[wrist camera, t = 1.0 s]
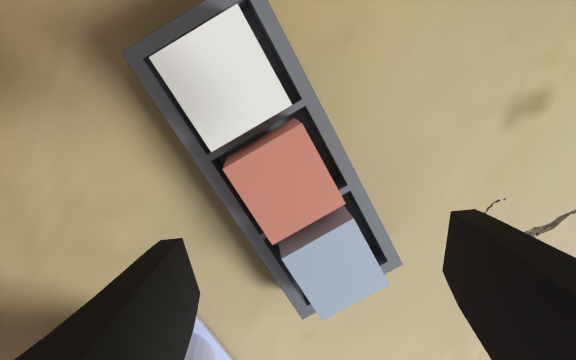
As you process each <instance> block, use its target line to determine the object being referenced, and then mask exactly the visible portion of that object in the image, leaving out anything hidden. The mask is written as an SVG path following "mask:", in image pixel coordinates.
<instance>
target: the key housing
mask: <svg viewBox="0 0 576 360" xmlns="http://www.w3.org/2000/svg"><path fill="white" fill-rule="evenodd" d="M236 4H238V6H239V8H240V9H241V11H242V13H243V15H244V17H245V19H246V20H247V22H248V24H249V26H250V28H251V30H252V32H253V33H254V35H255V37H256V39H257V41H258V43H259V44H260V46H261V48H262V50H263V52H264V54H265V56H266V57H267V59H268V61H269V63H270V65H271V67H272V68H273V70H274V72H275V74H276V76H277V78H278V80H279V81H280V83H281V85H282V87H283V89H284V91H285V92H286V94H287V96H288V98H289V100H290V102H291V104H292V105H291V106H290V107H288V108H286V109H284V110H283V111H281V112H279V113H278V114H276V115H274V116H272V117H271V118H269V119H267V120H266V121H264V122H262V123H261V124H259V125H257V126H255V127H254V128H252V129H250V130H249V131H247V132H245V133H243V134H242V135H240V136H238V137H237V138H235V139H233V140H231V141H230V142H228V143H226V144H225V145H223V146H221V147H220V148H218V149H216V150H214V151H213V152H211V151H210V150H209V148H208V147H207V145H206V144H205V142H204V141H203V139H202V137H201V136H200V134H199V133H198V131H197V130H196V128H195V127H194V125H193V124H192V122H191V121H190V119H189V118H188V116H187V115H186V113H185V112H184V110H183V109H182V107H181V106H180V104H179V103H178V101H177V99H176V98H175V96H174V95H173V93H172V92H171V90H170V89H169V87H168V86H167V84H166V83H165V81H164V80H163V78H162V77H161V75H160V74H159V72H158V71H157V69H156V68H155V66H154V65H153V63H152V61H151V60H150V58H149V57H150V56H152V55H153V54H155V53H157V52H158V51H160V50H162V49H163V48H165V47H167V46H168V45H170V44H171V43H173V42H175V41H176V40H178V39H180V38H181V37H183V36H185V35H186V34H188V33H190V32H191V31H193V30H195V29H196V28H198V27H199V26H201V25H203V24H204V23H206V22H208V21H209V20H211V19H213V18H214V17H216V16H218V15H219V14H221V13H222V12H224V11H226V10H227V9H229V8H231V7H232V6H234V5H236ZM120 53H121V54H122V56H123V57H124V59H125V60H126V62H127V63H128V65H129V66H130V67H131V69H132V70H133V72H134V73H135V75H136V76H137V78H138V79H139V81H140V82H141V84H142V85H143V87H144V88H145V89H146V91H147V92H148V94H149V95H150V97H151V98H152V100H153V101H154V103H155V104H156V106H157V107H158V109H159V110H160V111H161V113H162V114H163V116H164V117H165V119H166V120H167V122H168V123H169V125H170V126H171V128H172V129H173V131H174V132H175V133H176V135H177V136H178V138H179V139H180V141H181V142H182V144H183V145H184V147H185V148H186V150H187V151H188V152H189V154H190V155H191V157H192V158H193V160H194V161H195V163H196V164H197V166H198V167H199V169H200V170H201V172H202V173H203V174H204V176H205V177H206V179H207V180H208V182H209V183H210V185H211V186H212V188H213V189H214V191H215V192H216V194H217V195H218V196H219V198H220V199H221V201H222V202H223V204H224V205H225V207H226V208H227V210H228V211H229V213H230V214H231V215H232V217H233V218H234V220H235V221H236V223H237V224H238V226H239V227H240V229H241V230H242V232H243V233H244V235H245V236H246V237H247V239H248V240H249V242H250V243H251V245H252V246H253V248H254V249H255V251H256V252H257V254H258V255H259V257H260V258H261V259H262V261H263V262H264V264H265V265H266V267H267V268H268V270H269V271H270V273H271V274H272V276H273V277H274V278H275V280H276V281H277V283H278V284H279V286H280V287H281V289H282V290H283V292H284V293H285V295H286V296H287V298H288V299H289V300H290V302H291V303H292V305H293V306H294V308H295V309H296V311H297V312H298V314H299V315H300V317H301V318H302V320H303V319H305V318H306V317H308V316H310V315H312V314H314V313H315V312H316V311H315V309H314V308H313V306H312V305H311V303H310V302H309V300H308V299H307V297H306V296H305V294H304V293H303V291H302V290H301V288H300V286H299V285H298V283H297V282H296V280H295V279H294V277H293V276H292V274H291V273H290V271H289V270H288V268H287V267H286V265H285V264H284V262H283V261H282V259H281V254H280V248H279V242H277V243H276V244H274V245H272V244H271V242H270V241H269V239H268V238H267V236H266V235H265V233H264V232H263V230H262V229H261V227H260V226H259V224H258V223H257V221H256V220H255V218H254V217H253V215H252V214H251V212H250V210H249V209H248V207H247V206H246V204H245V203H244V201H243V200H242V198H241V197H240V195H239V194H238V192H237V191H236V189H235V188H234V186H233V185H232V183H231V182H230V180H229V179H228V177H227V175H226V174H225V172H224V171H223V166H224V164H225V161H226V158H227V157H228V156H230V155H231V154H233V153H235V152H236V151H238V150H240V149H242V148H243V147H245V146H247V145H248V144H250V143H252V142H254V141H255V140H257V139H259V138H260V137H262V136H264V135H266V134H267V133H269V132H271V131H272V130H274V129H276V128H278V127H279V126H281V125H283V124H284V123H286V122H288V121H290V120H291V119H293V118H295V119H297V120H298V121H300V122H301V123H302V124H303V126H304V128H305V129H306V131H307V133H308V135H309V137H310V139H311V140H312V142H313V144H314V146H315V148H316V150H317V152H318V153H319V155H320V157H321V159H322V161H323V163H324V164H325V166H326V168H327V170H328V172H329V174H330V176H331V177H332V179H333V181H334V183H335V185H336V187H337V188H338V190H339V192H340V194H341V196H342V198H343V199H344V201H345V203H346V204H345V205H344V207H345V208H346V209H347V210H348V212H349V213H350V214H351V216H352V217H353V218H354V220H355V222H356V223H357V225H358V227H359V229H360V231H361V233H362V235H363V236H364V238H365V240H366V242H367V244H368V246H369V247H370V249H371V251H372V253H373V255H374V257H375V259H376V260H377V262H378V264H379V266H380V268H381V270H382V271H383V273H384V275H385V274H386V273H388V272H390V271H392V270H394V269H395V268H397V267H399V266H401V265H403V264H402V262H401V260H400V258H399V256H398V254H397V252H396V250H395V248H394V246H393V244H392V242H391V240H390V238H389V236H388V234H387V232H386V231H385V229H384V227H383V225H382V223H381V221H380V219H379V217H378V215H377V213H376V211H375V209H374V207H373V205H372V203H371V201H370V199H369V197H368V195H367V193H366V191H365V189H364V188H363V186H362V184H361V182H360V180H359V178H358V176H357V174H356V172H355V170H354V168H353V166H352V164H351V162H350V160H349V158H348V156H347V154H346V152H345V150H344V148H343V147H342V145H341V143H340V141H339V139H338V137H337V135H336V133H335V131H334V129H333V127H332V125H331V123H330V121H329V119H328V117H327V115H326V113H325V111H324V109H323V107H322V105H321V104H320V102H319V100H318V98H317V96H316V94H315V92H314V90H313V88H312V86H311V84H310V82H309V80H308V78H307V76H306V74H305V72H304V70H303V68H302V66H301V64H300V62H299V61H298V59H297V57H296V55H295V53H294V51H293V49H292V47H291V45H290V43H289V41H288V39H287V37H286V35H285V33H284V31H283V29H282V27H281V25H280V23H279V21H278V20H277V18H276V16H275V14H274V12H273V10H272V8H271V6H270V4H269V2H268V0H205V1H203V2H202V3H200V4H198V5H197V6H195V7H193V8H192V9H190V10H188V11H187V12H185V13H184V14H182V15H180V16H179V17H177V18H175V19H174V20H172V21H170V22H169V23H167V24H166V25H164V26H162V27H161V28H159V29H157V30H156V31H154V32H152V33H151V34H149V35H148V36H146V37H144V38H143V39H141V40H139V41H138V42H136V43H135V44H133V45H131V46H130V47H128V48H126V49H125V50H123V51H121V52H120Z"/></svg>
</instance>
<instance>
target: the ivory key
mask: <svg viewBox="0 0 576 360" xmlns="http://www.w3.org/2000/svg"><path fill="white" fill-rule="evenodd" d="M149 58H150V60H151V61H152V63H153V65H154V66H155V68H156V69H157V71H158V72H159V74H160V75H161V77H162V78H163V80H164V81H165V83H166V84H167V86H168V87H169V89H170V90H171V92H172V93H173V95H174V96H175V98H176V99H177V101H178V103H179V104H180V106H181V107H182V109H183V110H184V112H185V113H186V115H187V116H188V118H189V119H190V121H191V122H192V124H193V125H194V127H195V128H196V130H197V131H198V133H199V134H200V136H201V137H202V139H203V141H204V142H205V144H206V145H207V147H208V148H209V150H210V151H211V152H213V151H214V150H216V149H218V148H220V147H221V146H223V145H225V144H226V143H228V142H230V141H231V140H233V139H235V138H237V137H238V136H240V135H242V134H243V133H245V132H247V131H249V130H250V129H252V128H254V127H255V126H257V125H259V124H261V123H262V122H264V121H266V120H267V119H269V118H271V117H272V116H274V115H276V114H278V113H279V112H281V111H283V110H284V109H286V108H288V107H290V106H291V105H292V104H291V102H290V100H289V98H288V96H287V94H286V92H285V91H284V89H283V87H282V85H281V83H280V81H279V80H278V78H277V76H276V74H275V72H274V70H273V68H272V67H271V65H270V63H269V61H268V59H267V57H266V56H265V54H264V52H263V50H262V48H261V46H260V44H259V43H258V41H257V39H256V37H255V35H254V33H253V32H252V30H251V28H250V26H249V24H248V22H247V20H246V19H245V17H244V15H243V13H242V11H241V9H240V8H239V6H238V4H236V5H234V6H232V7H231V8H229V9H227V10H226V11H224V12H222V13H221V14H219V15H218V16H216V17H214V18H213V19H211V20H209V21H208V22H206V23H204V24H203V25H201V26H199V27H198V28H196V29H195V30H193V31H191V32H190V33H188V34H186V35H185V36H183V37H181V38H180V39H178V40H176V41H175V42H173V43H171V44H170V45H168V46H167V47H165V48H163V49H162V50H160V51H158V52H157V53H155V54H153V55H152V56H150V57H149Z"/></svg>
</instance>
